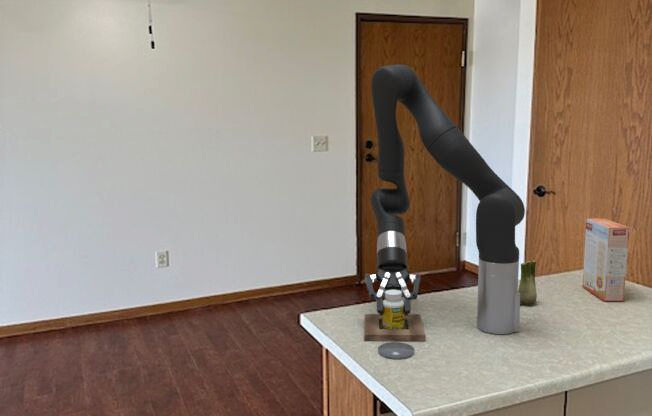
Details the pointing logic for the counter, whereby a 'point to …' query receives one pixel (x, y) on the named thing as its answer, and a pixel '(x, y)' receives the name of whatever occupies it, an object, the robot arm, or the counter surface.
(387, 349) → the coaster
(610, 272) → the cracker box
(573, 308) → the counter surface
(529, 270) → the fennel bulb
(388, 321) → the supplement bottle
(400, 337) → the pocket board
